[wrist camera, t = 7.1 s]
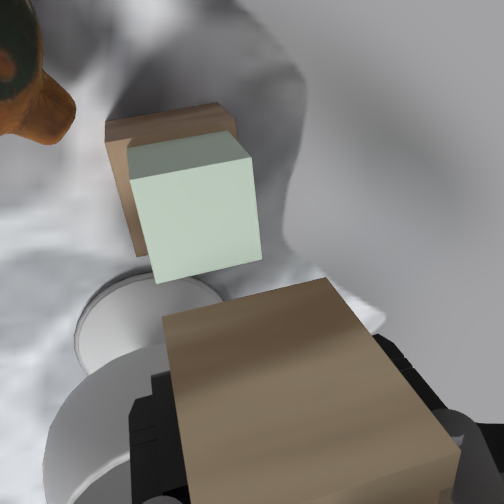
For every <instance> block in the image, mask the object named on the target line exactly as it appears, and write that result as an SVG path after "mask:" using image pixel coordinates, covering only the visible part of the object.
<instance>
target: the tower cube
mask: <svg viewBox="0 0 504 504" xmlns="http://www.w3.org/2000/svg"><path fill="white" fill-rule="evenodd" d="M126 150H127V160H128V169H129V179H130V184H131V187H132V191H133V195H134V199H135V203H136V207H137V211H138V215H139V219H140V223H141V227H142V231H143V234H144V238H145V242H146V246H147V250H148V254H149V258H150V262H151V266H152V270H153V274H154V278H155V281H156V284H159V283H163V282H167V281H172V280H176V279H180V278H185V277H189V276H193V275H197V274H202V273H206V272H210V271H215V270H219V269H223V268H228V267H232V266H236V265H241V264H245V263H249V262H253V261H258V260H262V252H261V243H260V233H259V223H258V214H257V204H256V195H255V185H254V175H253V166H252V157H251V156H250V155H249V154H248V153H247V151H246V150H245V149H244V148H243V147H242V146H241V145H240V144H239V143H238V141H237V140H236V139H235V138H234V137H233V136H232V135H231V134H230V132H229V131H228V130H227V131H221V132H215V133H209V134H204V135H198V136H192V137H187V138H181V139H175V140H170V141H164V142H158V143H153V144H147V145H141V146H136V147H130V148H126Z"/></svg>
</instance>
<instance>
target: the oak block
mask: <svg viewBox="0 0 504 504" xmlns="http://www.w3.org/2000/svg"><path fill="white" fill-rule="evenodd" d="M162 322H163V329H164V335H165V341H166V348H167V354H168V360H169V367H170V373H171V379H172V386H173V392H174V398H175V405H176V411H177V417H178V424H179V430H180V436H181V443H182V449H183V455H184V462H185V468H186V474H187V481H188V487H189V493H190V500H191V504H438V500H439V495H440V491H442V490H444V489H447V488H450V487H453V486H454V481H455V476H456V472H457V467H458V463H459V458H460V454H461V450H460V448H459V447H458V446H457V445H456V443H455V442H454V441H453V439H452V438H451V437H450V436H449V434H448V433H447V432H446V430H445V429H444V428H443V427H442V425H441V424H440V423H439V421H438V420H437V419H436V418H435V416H434V415H433V414H432V412H431V411H430V410H429V409H428V407H427V406H426V405H425V404H424V402H423V401H422V400H421V398H420V397H419V396H418V395H417V393H416V392H415V391H414V389H413V388H412V387H411V386H410V384H409V383H408V382H407V380H406V379H405V378H404V377H403V375H402V374H401V373H400V371H399V370H398V369H397V368H396V366H395V365H394V364H393V362H392V361H391V360H390V359H389V357H388V356H387V355H386V353H385V352H384V351H383V350H382V348H381V347H380V346H379V345H378V343H377V342H376V341H375V339H374V338H373V337H372V336H371V334H370V333H369V332H368V330H367V329H366V328H365V327H364V325H363V324H362V323H361V321H360V320H359V319H358V318H357V316H356V315H355V314H354V312H353V311H352V310H351V309H350V307H349V306H348V305H347V303H346V302H345V301H344V300H343V298H342V297H341V296H340V294H339V293H338V292H337V291H336V289H335V288H334V287H333V286H332V284H331V283H330V282H329V280H328V279H327V278H326V277H325V278H320V279H316V280H312V281H308V282H304V283H300V284H295V285H291V286H287V287H283V288H279V289H275V290H270V291H266V292H262V293H258V294H254V295H250V296H245V297H241V298H237V299H233V300H229V301H224V302H220V303H216V304H212V305H208V306H204V307H199V308H195V309H191V310H187V311H183V312H179V313H174V314H170V315H166V316H162Z"/></svg>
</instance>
